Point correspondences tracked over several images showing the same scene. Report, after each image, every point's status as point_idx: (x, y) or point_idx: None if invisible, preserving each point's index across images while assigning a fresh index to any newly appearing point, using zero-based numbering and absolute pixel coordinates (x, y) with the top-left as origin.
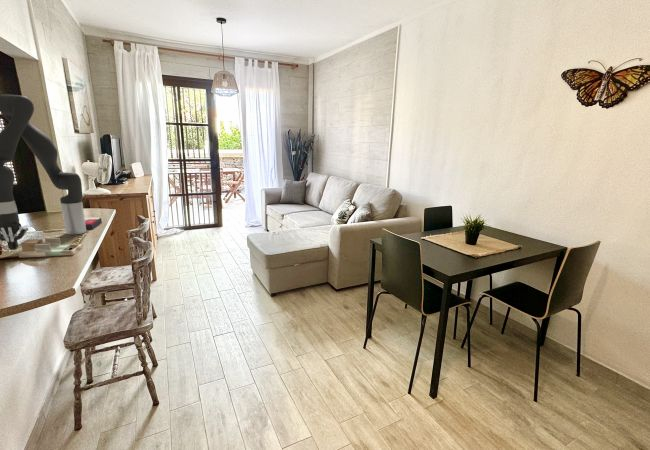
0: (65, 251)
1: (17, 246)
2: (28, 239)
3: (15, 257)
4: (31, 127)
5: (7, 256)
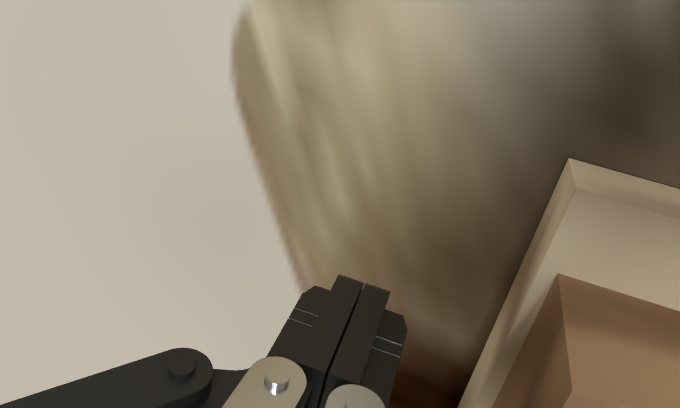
0: None
1: (403, 342)
2: (584, 403)
3: (414, 380)
4: None
5: None
